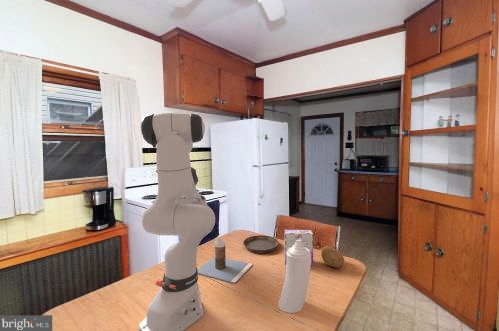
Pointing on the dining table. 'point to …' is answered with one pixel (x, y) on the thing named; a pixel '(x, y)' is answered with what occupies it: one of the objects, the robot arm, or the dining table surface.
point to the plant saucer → (260, 243)
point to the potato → (332, 257)
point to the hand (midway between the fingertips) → (196, 223)
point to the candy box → (299, 235)
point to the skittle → (220, 254)
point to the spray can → (295, 278)
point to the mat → (225, 270)
